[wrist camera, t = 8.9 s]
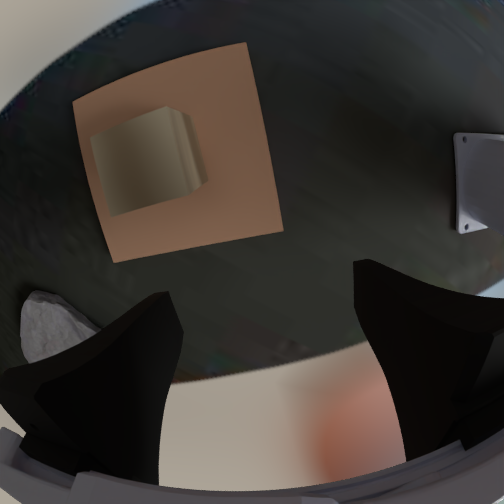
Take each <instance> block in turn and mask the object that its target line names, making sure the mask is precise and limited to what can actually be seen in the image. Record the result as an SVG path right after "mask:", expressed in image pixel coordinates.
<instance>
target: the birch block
mask: <svg viewBox="0 0 504 504" xmlns="http://www.w3.org/2000/svg"><path fill="white" fill-rule="evenodd" d="M90 141H91V145H92V150H93V154H94V158H95V162H96V166H97V170H98V174H99V178H100V181H101V185H102V189H103V192H104V196H105V199H106V202H107V206H108V209H109V212H110V215H111V217H114V216H118V215H121V214H124V213H127V212H131V211H134V210H137V209H141V208H144V207H147V206H151V205H154V204H158V203H161V202H165V201H169V200H172V199H176V198H180V197H183V196H187V195H189V194H191V193H192V192H193V191H195V190H196V189H198V188H199V187H200V186H202V185H203V184H204V183H206V182H207V181H208V177H207V173H206V169H205V165H204V161H203V157H202V153H201V149H200V145H199V141H198V137H197V133H196V128H195V124H194V120H193V117H192V116H190V115H187V114H185V113H182V112H180V111H177V110H175V109H172V108H170V107H167V106H166V107H163V108H160V109H157V110H154V111H152V112H149V113H146V114H144V115H141V116H138V117H136V118H133V119H131V120H128V121H126V122H123V123H121V124H119V125H116V126H114V127H112V128H109V129H107V130H105V131H103V132H101V133H98V134H96V135H94V136H92V137H90Z"/></svg>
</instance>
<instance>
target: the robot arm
mask: <svg viewBox="0 0 504 504" xmlns="http://www.w3.org/2000/svg"><path fill="white" fill-rule="evenodd" d="M463 137H464V142H463ZM453 140H454V151H455V164H456V190H457V209H456V231H457V232H458V233H460V234H463V233H467V232H472V231H476V230H480V229H485V228H491V229H492V230H494V231H496V232H498V233H500V234H501V235H503V236H504V135H499V134H482V133H455V134H454V137H453ZM465 225H466V227H465ZM464 227H465V228H464ZM353 273H354V308H355V311H356V314H357V317H358V320H359V322H360V325H361V328H362V330H363V332H364V334H365V336H366V338H367V340H368V342H369V344H370V346H371V347H372V349H373V351H374V353H375V355H376V357H377V359H378V361H379V363H380V365H381V367H382V370H383V372H384V374H385V377H386V380H387V383H388V385H389V389H390V392H391V395H392V398H393V402H394V405H395V409H396V413H397V416H398V420H399V425H400V429H401V434H402V438H403V444H404V449H405V456H406V462H405V463H402V464H399V465H396V466H393V467H390V468H387V469H384V470H380V471H377V472H374V473H370V474H366V475H362V476H358V477H354V478H350V479H345V480H341V481H336V482H331V483H325V484H319V485H313V486H306V487H298V488H291V489H279V490H266V491H206V490H192V489H181V488H173V487H165V486H159V469H158V468H159V467H158V465H159V447H160V446H159V445H160V436H161V427H162V420H163V413H164V407H165V402H166V399H167V395H168V391H169V388H170V385H171V382H172V379H173V376H174V372H175V369H176V366H177V363H178V360H179V356H180V353H181V347H182V341H183V334H184V331H183V329H182V326H181V324H180V321H179V319H178V316H177V313H176V311H175V308H174V305H173V303H172V300H171V297H170V294H169V292H168V291H166V292H158V293H154V294H152V295H150V296H148V297H147V298H145V299H144V300H142V301H141V302H140V303H138V304H137V305H136V306H134V307H133V308H131V309H130V310H129V311H127V312H126V313H125V314H123V315H122V316H121V317H119V318H118V319H116V320H115V321H114V322H112V323H111V324H109V325H108V326H106V327H105V328H104V329H102V330H101V331H99V332H98V333H96V334H94V335H93V336H91V337H89V338H88V339H86V340H84V341H82V342H81V343H79V344H77V345H75V346H73V347H71V348H69V349H66V350H64V351H62V352H60V353H58V354H55V355H53V356H50V357H48V358H45V359H42V360H39V361H36V362H33V363H29V364H25V365H21V366H17V367H13V368H9V369H7V370H6V371H5V372H4V373H3V374H2V376H1V377H0V404H1V405H2V406H3V408H4V409H5V410H6V411H7V413H8V414H9V415H10V416H11V417H12V418H13V419H14V420H15V422H16V423H17V424H18V425H19V426H20V427H21V428H22V429H23V430H24V431H25V432H26V434H25V436H24V438H23V437H21V436H20V435H19V434H17V433H15V432H13V431H11V430H9V429H7V428H5V427H2V428H1V429H0V487H1V488H2V489H3V490H4V491H6V492H7V493H8V494H10V495H11V496H12V497H14V498H15V499H16V500H18V501H19V502H21V503H22V504H497V503H499V502H500V501H501V500H503V499H504V298H491V297H482V296H475V295H469V294H464V293H459V292H455V291H451V290H447V289H444V288H440V287H437V286H434V285H431V284H428V283H425V282H422V281H420V280H417V279H415V278H412V277H410V276H407V275H405V274H403V273H401V272H398V271H396V270H394V269H392V268H389V267H387V266H385V265H383V264H381V263H378V262H376V261H373V260H370V259H364V260H359V261H354V262H353Z"/></svg>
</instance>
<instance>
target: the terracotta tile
mask: <svg viewBox="0 0 504 504" xmlns="http://www.w3.org/2000/svg"><path fill="white" fill-rule="evenodd" d="M166 106H167V107H170V108H172V109H175V110H177V111H180V112H182V113H185V114H187V115H190V116H192V117H193V120H194V124H195V128H196V133H197V137H198V141H199V145H200V149H201V153H202V157H203V161H204V165H205V169H206V173H207V177H208V181H207V182H206V183H204V184H203V185H202V186H200V187H199V188H198V189H196V190H195V191H193V192H192V193H191V194H189V195H187V196H183V197H180V198H176V199H172V200H169V201H165V202H161V203H158V204H154V205H151V206H147V207H144V208H141V209H137V210H134V211H131V212H127V213H124V214H121V215H118V216H114V217H111V215H110V212H109V209H108V206H107V202H106V199H105V196H104V192H103V189H102V185H101V181H100V178H99V174H98V170H97V166H96V162H95V158H94V154H93V150H92V145H91V141H90V137H92V136H94V135H96V134H98V133H101V132H103V131H105V130H107V129H109V128H112V127H114V126H116V125H119V124H121V123H123V122H126V121H128V120H131V119H133V118H136V117H138V116H141V115H144V114H146V113H149V112H152V111H154V110H157V109H160V108H163V107H166ZM73 109H74V115H75V121H76V127H77V132H78V138H79V143H80V148H81V152H82V157H83V161H84V166H85V170H86V174H87V178H88V182H89V186H90V190H91V193H92V197H93V201H94V204H95V207H96V211H97V214H98V217H99V221H100V224H101V227H102V230H103V233H104V236H105V239H106V242H107V245H108V248H109V251H110V253H111V256H112V259H113V262H114V263H115V262H120V261H125V260H130V259H135V258H140V257H146V256H151V255H156V254H161V253H166V252H171V251H177V250H182V249H187V248H192V247H198V246H203V245H209V244H214V243H219V242H225V241H230V240H236V239H241V238H247V237H252V236H258V235H264V234H269V233H275V232H281V231H283V225H282V219H281V213H280V207H279V201H278V196H277V190H276V185H275V179H274V174H273V168H272V163H271V158H270V152H269V147H268V142H267V137H266V132H265V127H264V122H263V117H262V112H261V108H260V103H259V98H258V93H257V89H256V84H255V80H254V75H253V71H252V66H251V62H250V57H249V53H248V49H247V45H246V42H244V43H239V44H234V45H229V46H224V47H219V48H215V49H210V50H206V51H202V52H198V53H195V54H191V55H187V56H184V57H180V58H177V59H174V60H171V61H167V62H164V63H161V64H158V65H155V66H153V67H150V68H147V69H144V70H142V71H139V72H136V73H134V74H131V75H129V76H126V77H124V78H121V79H119V80H117V81H114V82H112V83H110V84H108V85H106V86H103V87H101V88H99V89H97V90H95V91H93V92H91V93H89V94H87V95H85V96H83V97H81V98H79V99H77V100H75V101H73Z"/></svg>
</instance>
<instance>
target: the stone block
mask: <svg viewBox="0 0 504 504" xmlns="http://www.w3.org/2000/svg"><path fill="white" fill-rule="evenodd" d="M99 331H101V329H100V328H98V327H96V326H95V325H94V324H93V323H92V322H90V321H89V320H88V319H87V318H86V317H85V316H84V315H83V314H81V313H80V312H78V311H77V310H76V309H75V308H74V307H73V306H71V305H70V304H68V303H67V302H66V301H64V300H63V299H62V298H61V297H60V296H58V295H57V294H51V293H48V292H43V291H38V290H35V291H33V292H32V293H31V294H30V296H29V297H28V298H27V300H26V301H25V303H24V305H23V307H22V312H21V333H20V336H21V340H22V342H21V347H22V350H23V353H24V356H25V357H26V359H27V360H28V362H29V363H33V362H36V361H39V360H42V359H45V358H48V357H50V356H53V355H55V354H58V353H60V352H62V351H64V350H66V349H69V348H71V347H73V346H75V345H77V344H79V343H81V342H82V341H84V340H86V339H88V338H89V337H91V336H93V335H94V334H96V333H98V332H99Z"/></svg>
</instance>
